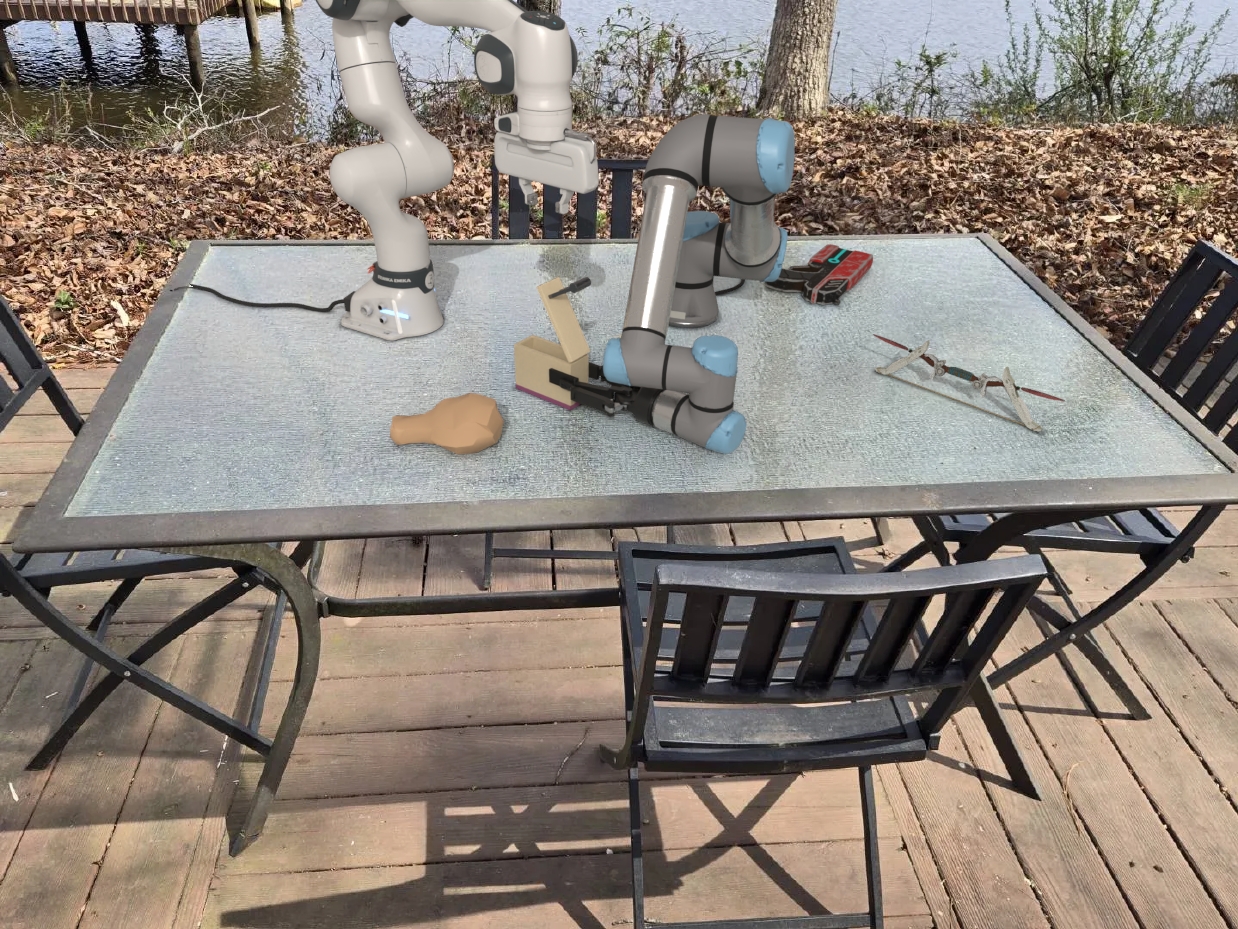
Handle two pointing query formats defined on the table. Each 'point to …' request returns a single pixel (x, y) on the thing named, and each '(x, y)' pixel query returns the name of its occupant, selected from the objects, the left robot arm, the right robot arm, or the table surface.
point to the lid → (565, 315)
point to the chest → (546, 370)
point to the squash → (452, 425)
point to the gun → (825, 275)
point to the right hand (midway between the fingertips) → (561, 369)
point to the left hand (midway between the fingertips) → (546, 208)
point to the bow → (978, 382)
